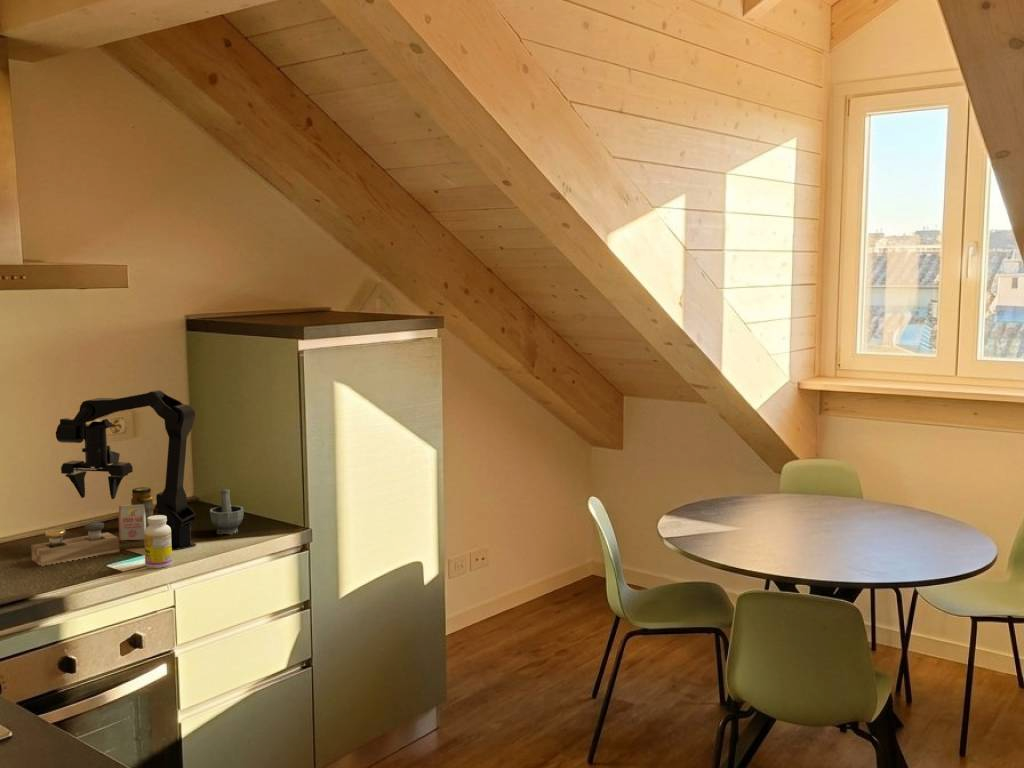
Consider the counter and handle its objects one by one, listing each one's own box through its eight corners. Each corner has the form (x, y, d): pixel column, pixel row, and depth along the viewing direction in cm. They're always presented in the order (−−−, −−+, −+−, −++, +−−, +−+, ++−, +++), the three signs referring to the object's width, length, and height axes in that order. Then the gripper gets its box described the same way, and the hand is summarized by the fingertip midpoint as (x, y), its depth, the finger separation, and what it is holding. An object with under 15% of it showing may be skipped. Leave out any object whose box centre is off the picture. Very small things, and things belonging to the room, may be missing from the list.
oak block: (119, 552, 265) (118, 537, 264) (41, 566, 251) (40, 551, 251) (108, 546, 271) (107, 532, 270) (31, 559, 257) (31, 545, 257)
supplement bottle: (144, 563, 255) (142, 515, 253) (171, 560, 257) (169, 513, 256) (145, 570, 249) (144, 521, 247) (173, 567, 251) (171, 518, 250)
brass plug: (68, 546, 257) (68, 531, 257) (49, 549, 254) (48, 534, 254) (62, 542, 261) (61, 527, 260) (43, 546, 257) (42, 530, 257)
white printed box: (121, 538, 279) (120, 504, 278) (146, 537, 281) (145, 503, 280) (119, 541, 276) (117, 507, 275) (144, 540, 277) (143, 506, 276)
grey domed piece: (107, 539, 264) (106, 524, 263) (88, 542, 261) (88, 527, 260) (100, 536, 267) (100, 521, 267) (82, 539, 264) (81, 524, 264)
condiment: (150, 524, 296) (149, 485, 295) (160, 529, 289) (159, 490, 288) (126, 527, 291) (124, 488, 290) (135, 533, 285) (134, 493, 284)
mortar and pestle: (245, 535, 283) (244, 494, 282) (211, 537, 280) (210, 496, 279) (242, 525, 294) (241, 486, 293) (209, 528, 291) (208, 488, 290)
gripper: (142, 439, 278) (144, 493, 280) (82, 437, 281) (84, 490, 283) (120, 446, 267) (122, 502, 269) (58, 444, 270) (61, 499, 272)
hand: (98, 498), depth 273 cm, fingers open, 9 cm apart
